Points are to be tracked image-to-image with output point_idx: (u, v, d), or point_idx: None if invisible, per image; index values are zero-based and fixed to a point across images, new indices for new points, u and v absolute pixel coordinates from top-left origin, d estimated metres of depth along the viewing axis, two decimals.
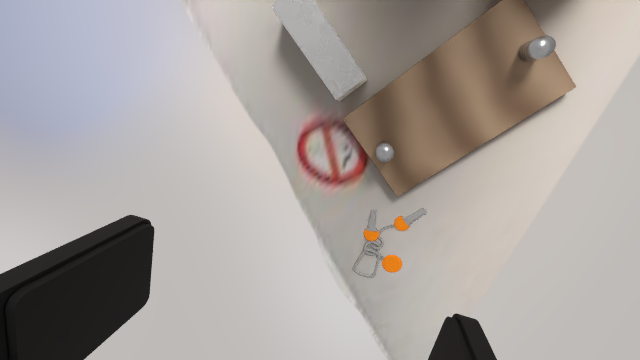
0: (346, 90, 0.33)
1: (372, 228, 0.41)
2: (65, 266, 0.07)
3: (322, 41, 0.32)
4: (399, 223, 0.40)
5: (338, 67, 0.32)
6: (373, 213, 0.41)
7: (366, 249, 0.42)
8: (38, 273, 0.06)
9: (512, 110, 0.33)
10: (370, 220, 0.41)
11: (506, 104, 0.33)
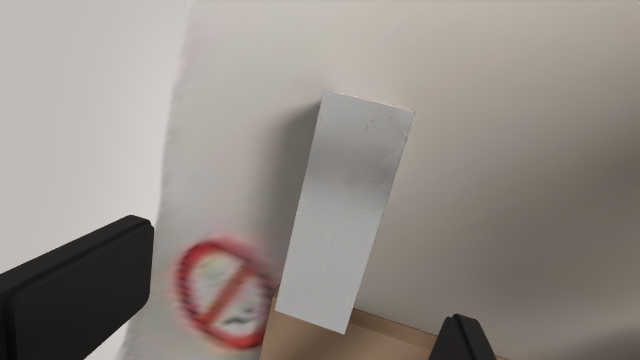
0: (301, 317, 0.16)
1: None
2: (65, 266, 0.07)
3: (340, 230, 0.15)
4: None
5: (324, 283, 0.15)
6: None
7: None
8: (38, 273, 0.06)
9: None
10: None
11: None
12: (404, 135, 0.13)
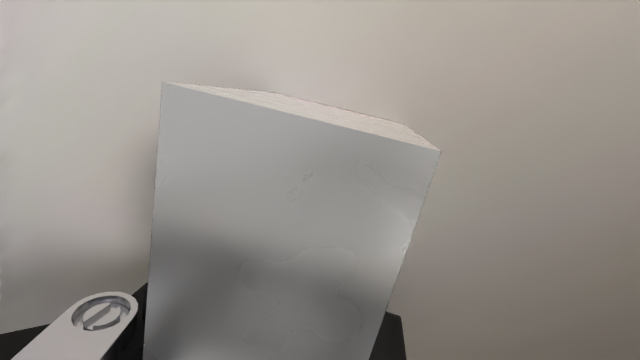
0: None
1: None
2: None
3: None
4: None
5: None
6: None
7: None
8: None
9: None
10: None
11: None
12: (406, 221, 0.04)
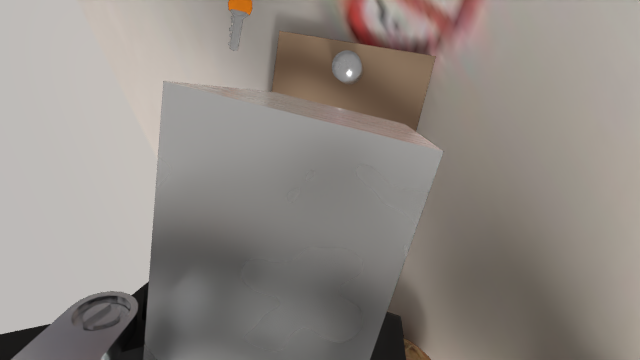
0: None
1: None
2: None
3: None
4: (243, 1, 0.25)
5: None
6: None
7: None
8: None
9: None
10: None
11: None
12: (408, 221, 0.04)
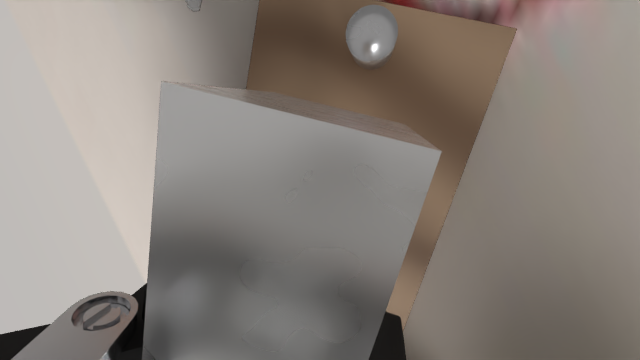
0: None
1: None
2: None
3: None
4: None
5: None
6: None
7: None
8: None
9: None
10: None
11: None
12: (406, 221, 0.04)
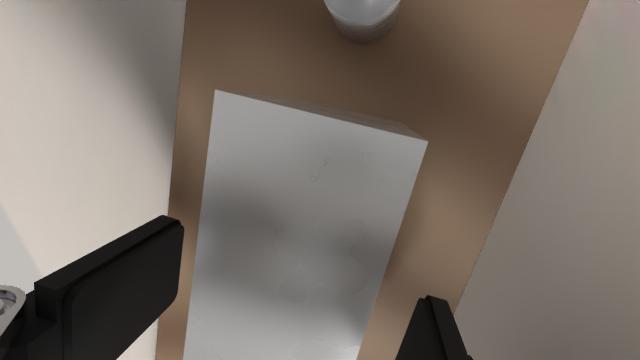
0: None
1: None
2: (112, 263, 0.07)
3: None
4: None
5: None
6: None
7: None
8: (90, 270, 0.06)
9: None
10: None
11: None
12: (402, 195, 0.05)
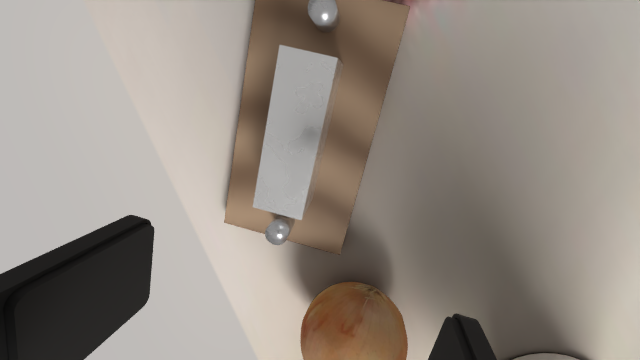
0: (271, 210, 0.23)
1: None
2: (65, 266, 0.07)
3: (295, 142, 0.22)
4: None
5: (286, 183, 0.23)
6: None
7: None
8: (38, 273, 0.06)
9: (247, 168, 0.28)
10: None
11: (257, 169, 0.28)
12: (332, 74, 0.20)
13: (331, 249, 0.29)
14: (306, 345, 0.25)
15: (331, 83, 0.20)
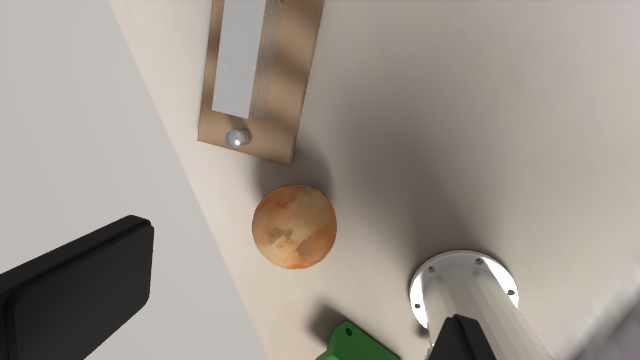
0: (225, 111, 0.31)
1: None
2: (65, 266, 0.07)
3: (240, 55, 0.29)
4: None
5: (235, 88, 0.30)
6: None
7: None
8: (38, 273, 0.06)
9: None
10: None
11: None
12: (264, 0, 0.27)
13: (281, 160, 0.36)
14: (253, 223, 0.32)
15: (264, 8, 0.28)
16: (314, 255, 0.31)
